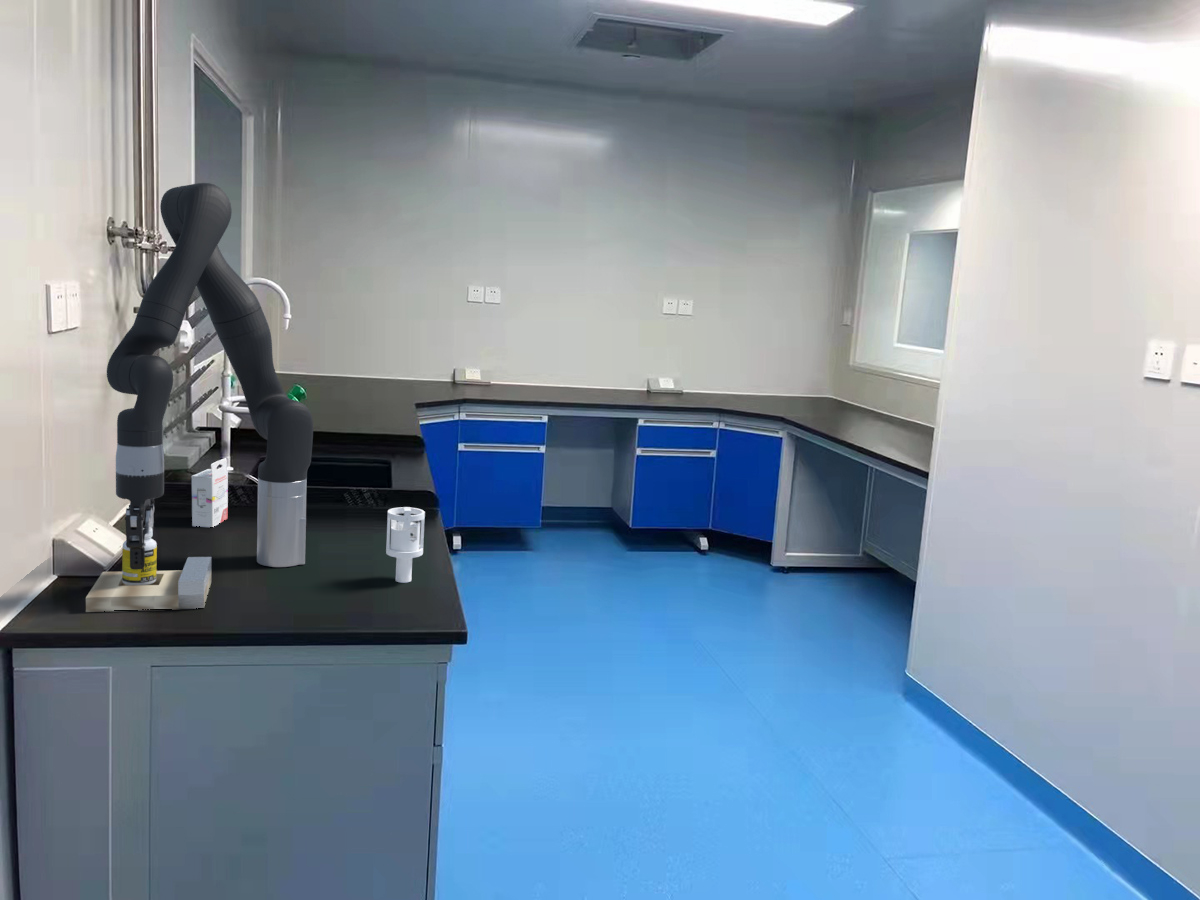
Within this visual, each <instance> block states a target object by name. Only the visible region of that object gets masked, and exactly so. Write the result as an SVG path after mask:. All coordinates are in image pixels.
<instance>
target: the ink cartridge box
mask: <svg viewBox="0 0 1200 900" xmlns="http://www.w3.org/2000/svg"><path fill="white" fill-rule="evenodd" d="M219 465H220V466H221V467H219ZM217 467H219V468H217ZM228 472H229V470H228V459H227V457H224V458H222V459H218V460H217V461H215V462H213V463H212V462H211V464H210V468H207V469H205V470H202V471H200V472H198V473H196V474H193V475H191V517H192V519H191V521H192V522H191V526H192V527H196V526H197V527H198V528H199V526H200V528H210V527H213V528H215V527H216V526H218V525H220V524H221V523H223V522H224V520H225V521H226V520H228V517H229V516H228V513H229V512H228V508H229V506H228V503H229V498H228V497H229V492H228V491H229V489H228V488H229V483H228V482H229V481H228V480H229V473H228ZM219 523H220V524H219ZM214 526H215V527H214ZM197 527H196V528H197Z"/></svg>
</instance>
